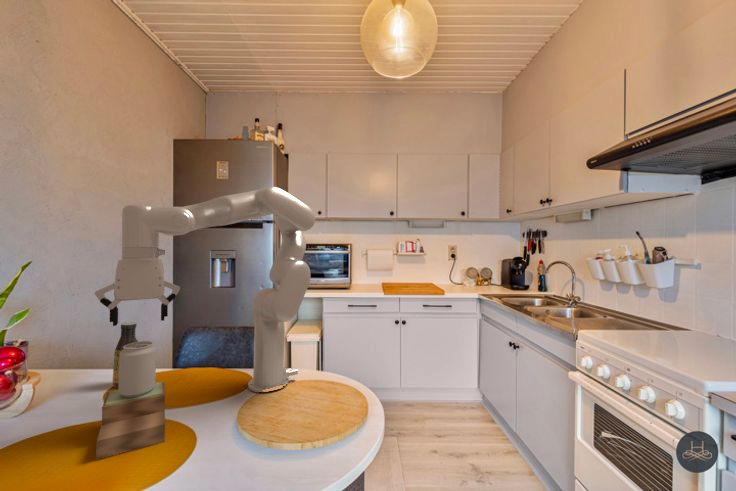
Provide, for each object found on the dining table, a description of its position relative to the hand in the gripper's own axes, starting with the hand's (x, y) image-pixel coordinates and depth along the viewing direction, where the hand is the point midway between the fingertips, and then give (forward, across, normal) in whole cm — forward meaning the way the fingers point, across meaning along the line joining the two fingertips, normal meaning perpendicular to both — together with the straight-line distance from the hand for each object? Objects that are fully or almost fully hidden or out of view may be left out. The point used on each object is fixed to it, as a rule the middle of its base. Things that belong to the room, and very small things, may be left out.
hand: (139, 322), depth 79 cm
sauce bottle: (+26, +5, -30) cm, 40 cm away
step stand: (+26, +1, +4) cm, 26 cm away
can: (+18, 0, 0) cm, 18 cm away
